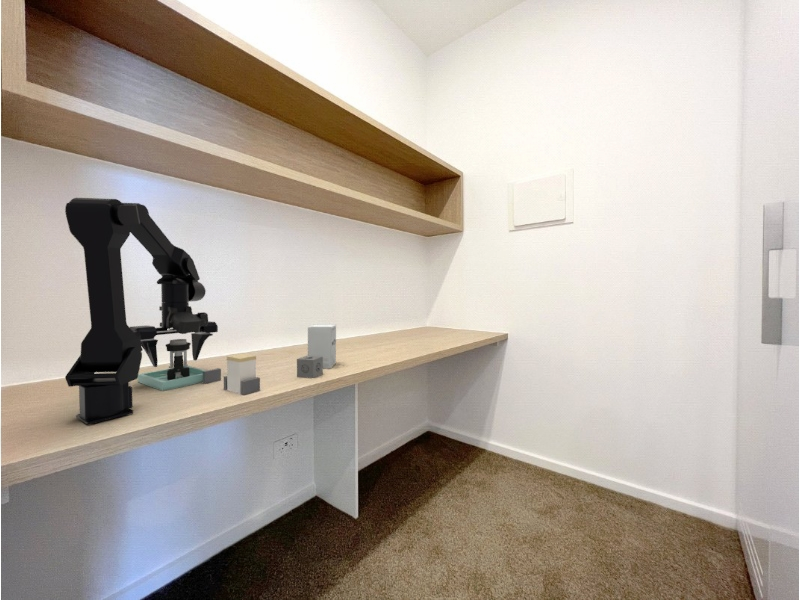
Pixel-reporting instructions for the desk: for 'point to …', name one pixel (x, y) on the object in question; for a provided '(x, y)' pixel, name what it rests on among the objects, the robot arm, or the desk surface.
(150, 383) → the tray
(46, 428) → the desk surface
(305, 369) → the dark grey cube
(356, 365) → the desk surface
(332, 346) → the supplement box
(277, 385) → the desk surface
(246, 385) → the set of grey blocks
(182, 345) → the push button
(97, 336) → the robot arm
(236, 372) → the white lidded container
